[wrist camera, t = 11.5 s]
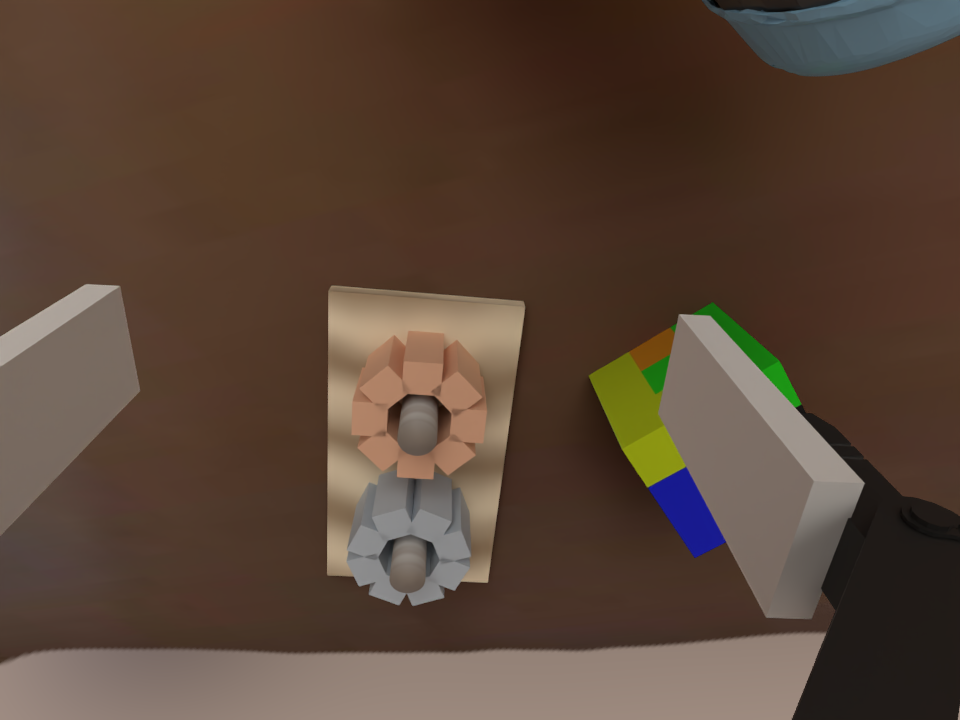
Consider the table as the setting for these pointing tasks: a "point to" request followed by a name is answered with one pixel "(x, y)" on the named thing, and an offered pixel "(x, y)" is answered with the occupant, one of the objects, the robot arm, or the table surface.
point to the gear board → (344, 370)
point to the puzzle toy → (644, 438)
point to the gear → (415, 512)
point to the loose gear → (423, 374)
